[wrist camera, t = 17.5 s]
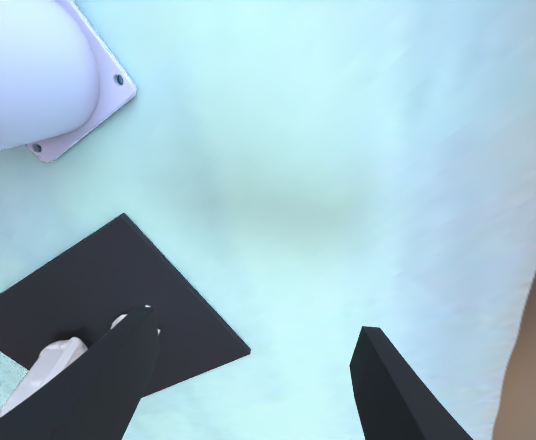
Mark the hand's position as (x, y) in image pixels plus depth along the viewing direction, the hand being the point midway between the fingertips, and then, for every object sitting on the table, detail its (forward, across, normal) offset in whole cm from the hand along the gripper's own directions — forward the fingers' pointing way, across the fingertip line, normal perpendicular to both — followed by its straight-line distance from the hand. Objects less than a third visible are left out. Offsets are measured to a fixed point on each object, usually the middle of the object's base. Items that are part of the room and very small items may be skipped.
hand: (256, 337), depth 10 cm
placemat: (+10, +13, +13) cm, 21 cm away
